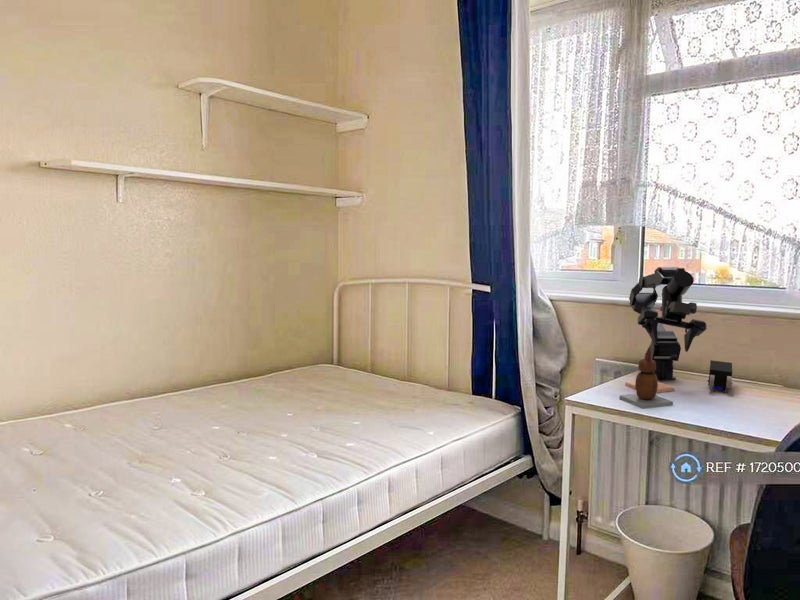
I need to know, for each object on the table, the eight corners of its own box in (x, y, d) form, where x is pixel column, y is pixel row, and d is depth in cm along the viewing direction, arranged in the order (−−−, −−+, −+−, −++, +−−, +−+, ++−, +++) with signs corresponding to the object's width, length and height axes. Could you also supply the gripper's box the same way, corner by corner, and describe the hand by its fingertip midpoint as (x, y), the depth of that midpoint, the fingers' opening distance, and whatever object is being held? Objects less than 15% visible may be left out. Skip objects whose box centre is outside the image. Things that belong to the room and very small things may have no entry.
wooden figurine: (655, 402, 167) (658, 349, 165) (633, 399, 170) (635, 347, 168) (658, 396, 173) (660, 345, 171) (636, 394, 175) (638, 343, 174)
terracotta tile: (625, 385, 189) (625, 382, 189) (651, 382, 192) (652, 379, 192) (646, 393, 180) (646, 390, 179) (674, 390, 182) (674, 387, 182)
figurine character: (732, 400, 177) (731, 383, 190) (734, 375, 175) (732, 359, 189) (707, 397, 180) (707, 380, 193) (708, 373, 178) (708, 357, 192)
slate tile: (619, 398, 174) (619, 395, 174) (648, 395, 177) (648, 392, 177) (642, 408, 165) (642, 404, 165) (672, 405, 168) (673, 401, 168)
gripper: (652, 284, 181) (650, 330, 174) (715, 296, 180) (716, 344, 173) (638, 301, 191) (636, 345, 184) (697, 313, 190) (698, 358, 183)
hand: (671, 348), depth 181 cm, fingers open, 9 cm apart
